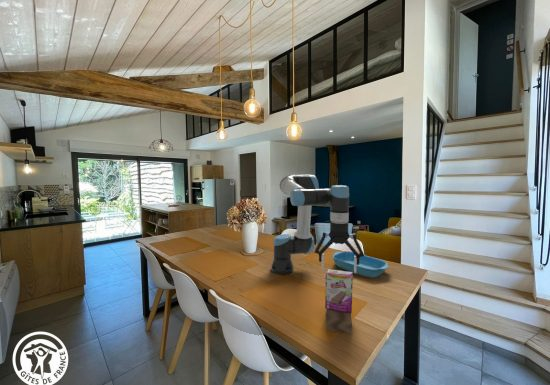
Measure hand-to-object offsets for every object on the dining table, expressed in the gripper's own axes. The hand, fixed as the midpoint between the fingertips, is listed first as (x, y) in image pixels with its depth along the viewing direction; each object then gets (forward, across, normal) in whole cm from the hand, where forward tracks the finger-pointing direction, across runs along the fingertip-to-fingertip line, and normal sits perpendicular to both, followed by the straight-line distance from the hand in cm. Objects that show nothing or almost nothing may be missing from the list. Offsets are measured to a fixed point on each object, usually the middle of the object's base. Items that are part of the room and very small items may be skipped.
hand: (338, 270), depth 100 cm
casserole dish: (+23, +15, +60) cm, 66 cm away
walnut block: (+22, 0, 0) cm, 22 cm away
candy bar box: (+17, 0, 0) cm, 17 cm away
